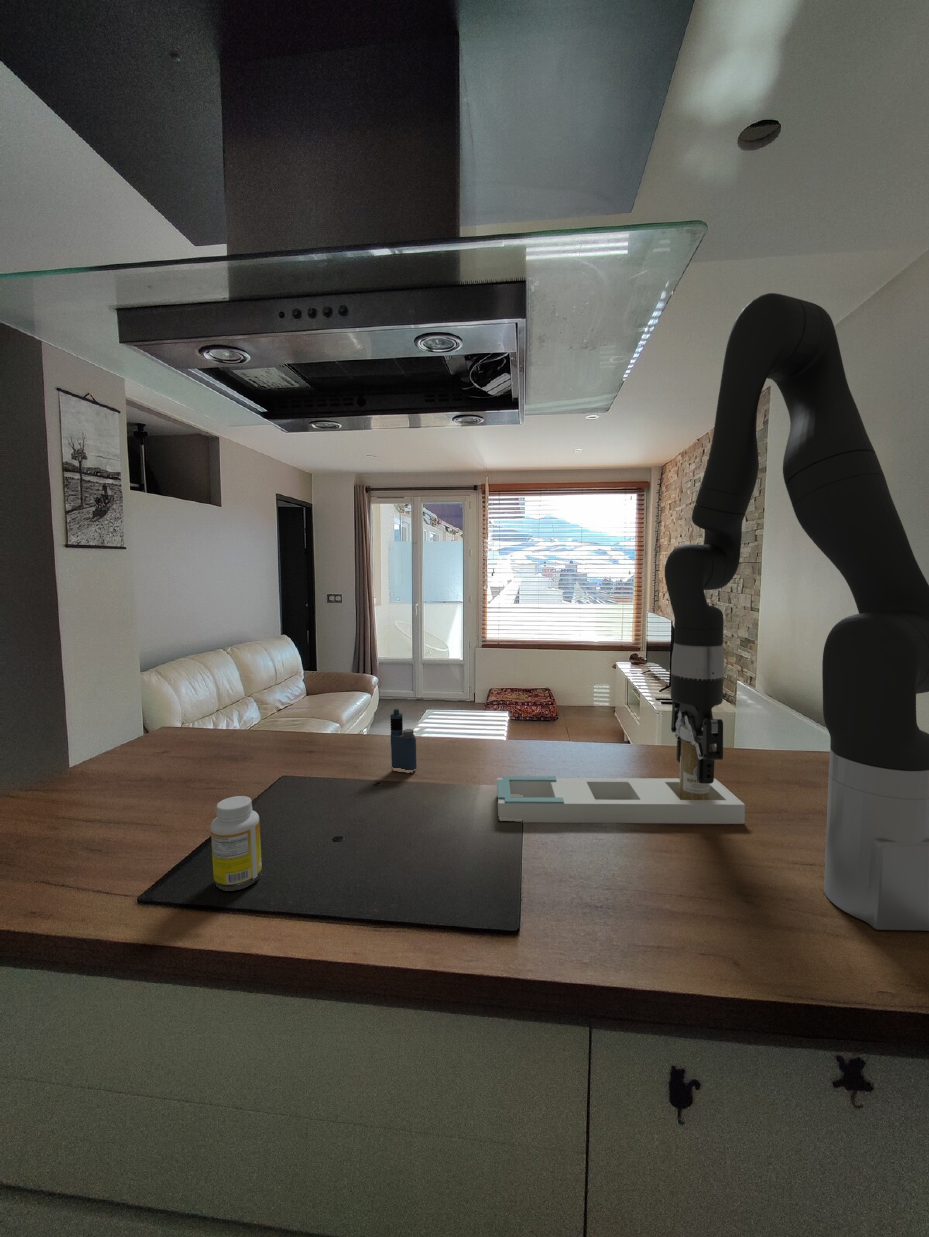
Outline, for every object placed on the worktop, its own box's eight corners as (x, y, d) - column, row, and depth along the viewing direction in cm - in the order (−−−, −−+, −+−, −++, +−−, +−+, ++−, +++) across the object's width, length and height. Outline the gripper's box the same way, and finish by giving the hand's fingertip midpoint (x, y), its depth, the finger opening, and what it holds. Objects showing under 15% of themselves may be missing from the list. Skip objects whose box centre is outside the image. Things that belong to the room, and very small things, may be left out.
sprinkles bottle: (692, 817, 80) (694, 732, 79) (672, 804, 84) (674, 724, 83) (716, 812, 81) (718, 729, 80) (695, 801, 86) (697, 721, 85)
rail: (744, 823, 78) (745, 802, 77) (498, 822, 79) (498, 801, 79) (714, 795, 88) (715, 776, 87) (497, 794, 89) (496, 776, 89)
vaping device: (395, 766, 103) (394, 707, 102) (418, 770, 101) (417, 710, 100) (388, 771, 101) (387, 710, 100) (412, 774, 99) (411, 713, 98)
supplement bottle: (241, 864, 68) (237, 789, 67) (271, 875, 66) (268, 797, 65) (203, 887, 63) (199, 806, 63) (234, 899, 61) (230, 816, 60)
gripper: (743, 681, 74) (739, 791, 75) (702, 664, 88) (699, 756, 89) (690, 681, 74) (687, 790, 76) (657, 664, 88) (655, 756, 90)
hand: (693, 771), depth 83 cm, fingers open, 8 cm apart
